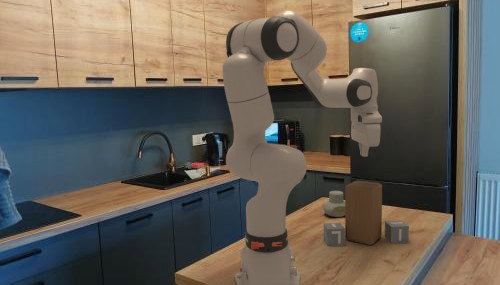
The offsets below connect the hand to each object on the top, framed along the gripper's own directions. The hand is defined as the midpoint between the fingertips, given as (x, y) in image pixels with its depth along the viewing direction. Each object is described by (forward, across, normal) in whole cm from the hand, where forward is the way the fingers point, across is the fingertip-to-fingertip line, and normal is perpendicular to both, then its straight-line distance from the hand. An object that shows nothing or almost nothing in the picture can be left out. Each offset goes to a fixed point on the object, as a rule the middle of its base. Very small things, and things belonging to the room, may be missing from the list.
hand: (364, 155), depth 132 cm
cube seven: (+30, +2, -11) cm, 32 cm away
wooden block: (+30, 0, 0) cm, 30 cm away
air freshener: (+30, -27, -3) cm, 41 cm away
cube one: (+30, +2, +11) cm, 32 cm away
